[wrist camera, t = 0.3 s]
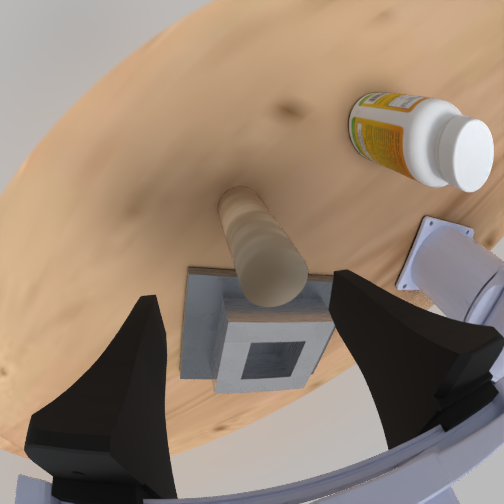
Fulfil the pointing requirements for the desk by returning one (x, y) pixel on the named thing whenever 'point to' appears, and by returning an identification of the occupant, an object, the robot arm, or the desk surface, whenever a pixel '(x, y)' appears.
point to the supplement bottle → (423, 139)
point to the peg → (260, 250)
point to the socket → (252, 334)
